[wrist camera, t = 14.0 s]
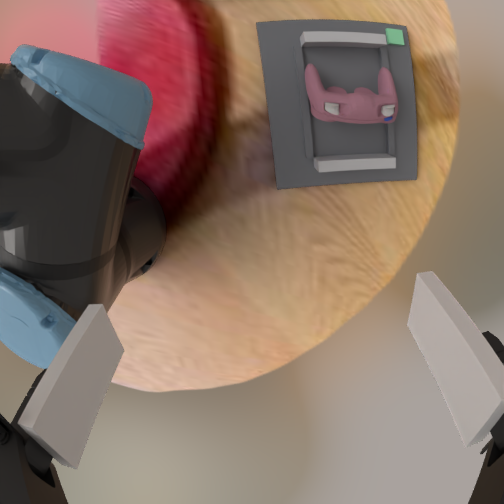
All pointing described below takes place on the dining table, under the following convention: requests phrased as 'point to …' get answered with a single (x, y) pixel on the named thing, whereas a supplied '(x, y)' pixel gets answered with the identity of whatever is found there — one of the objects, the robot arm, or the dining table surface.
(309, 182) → the charging cradle
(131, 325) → the dining table surface
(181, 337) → the dining table surface
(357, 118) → the video game controller
